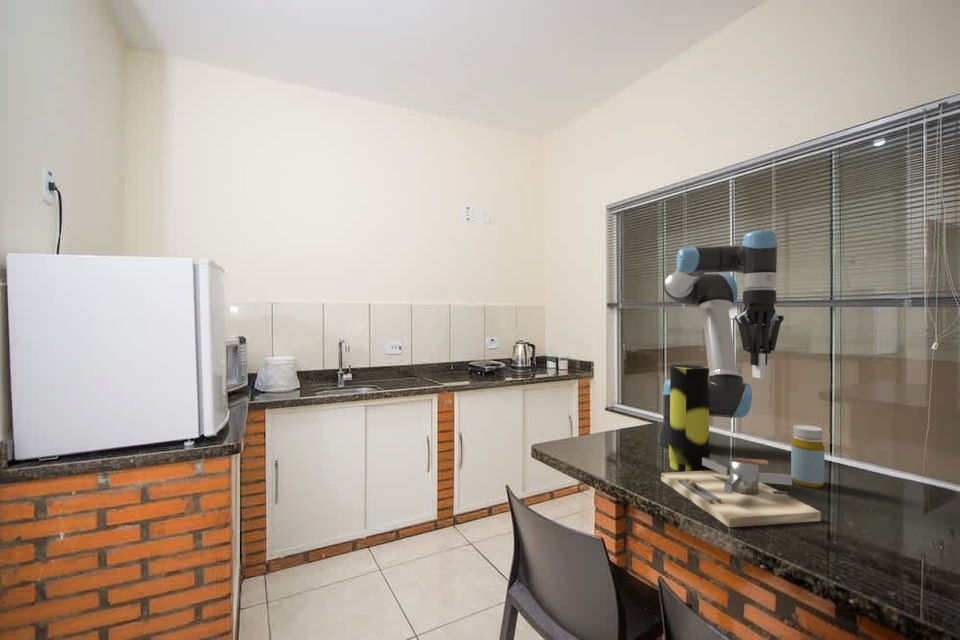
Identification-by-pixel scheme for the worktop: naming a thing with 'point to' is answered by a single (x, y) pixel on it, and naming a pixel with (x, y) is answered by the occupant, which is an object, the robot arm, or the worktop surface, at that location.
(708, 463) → the capstan
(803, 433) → the bottle
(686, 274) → the robot arm
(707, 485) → the stand
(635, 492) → the worktop surface
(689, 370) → the container
